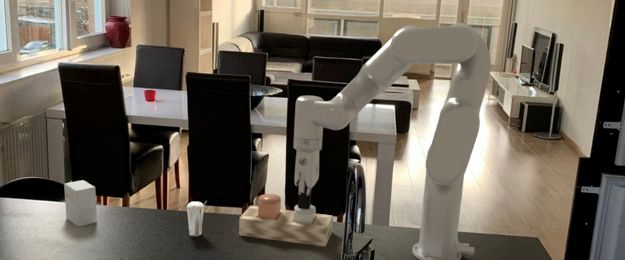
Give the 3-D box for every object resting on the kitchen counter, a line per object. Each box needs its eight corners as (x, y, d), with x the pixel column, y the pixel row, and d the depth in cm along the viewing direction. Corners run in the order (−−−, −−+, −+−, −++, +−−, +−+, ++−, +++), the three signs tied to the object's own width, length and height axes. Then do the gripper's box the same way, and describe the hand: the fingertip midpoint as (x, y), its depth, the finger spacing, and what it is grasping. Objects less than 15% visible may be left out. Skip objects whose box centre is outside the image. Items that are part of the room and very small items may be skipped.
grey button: (316, 225, 171) (317, 205, 169) (312, 233, 165) (313, 212, 164) (296, 222, 172) (297, 203, 170) (291, 230, 166) (292, 210, 165)
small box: (97, 222, 171) (96, 187, 169) (77, 227, 167) (75, 190, 165) (85, 214, 177) (83, 179, 174) (65, 218, 173) (63, 183, 171)
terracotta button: (282, 214, 172) (282, 195, 171) (276, 222, 167) (277, 202, 165) (262, 212, 173) (262, 193, 172) (256, 219, 168) (256, 199, 166)
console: (331, 232, 172) (332, 215, 171) (325, 246, 163) (326, 229, 162) (250, 221, 177) (250, 205, 176) (239, 235, 167) (239, 218, 166)
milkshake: (203, 238, 164) (203, 203, 162) (184, 236, 165) (184, 201, 163) (209, 232, 168) (209, 198, 166) (190, 230, 169) (190, 195, 167)
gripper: (316, 151, 155) (311, 219, 159) (326, 137, 169) (322, 200, 173) (287, 148, 156) (283, 215, 161) (300, 134, 170) (297, 197, 175)
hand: (304, 207), depth 167 cm, fingers closed
